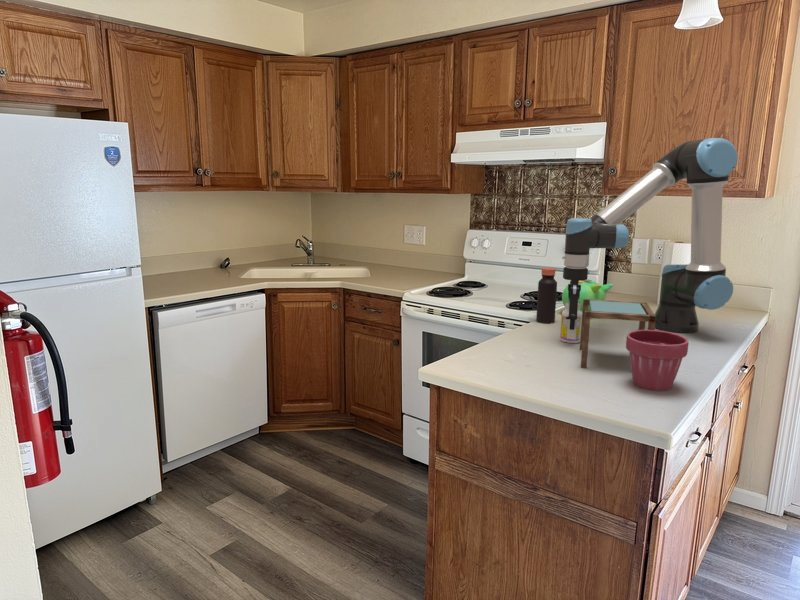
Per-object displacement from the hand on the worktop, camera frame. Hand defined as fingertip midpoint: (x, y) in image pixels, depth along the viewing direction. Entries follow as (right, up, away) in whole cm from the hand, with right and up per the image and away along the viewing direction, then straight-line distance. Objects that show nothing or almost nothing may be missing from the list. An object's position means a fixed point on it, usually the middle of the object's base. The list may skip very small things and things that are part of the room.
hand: (570, 334), depth 180 cm
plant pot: (+9, -11, -39) cm, 41 cm away
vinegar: (-1, +3, +26) cm, 27 cm away
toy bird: (+17, +6, +38) cm, 42 cm away
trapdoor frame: (+6, -6, -20) cm, 21 cm away
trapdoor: (+6, +8, -23) cm, 25 cm away
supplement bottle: (0, -2, 0) cm, 2 cm away
